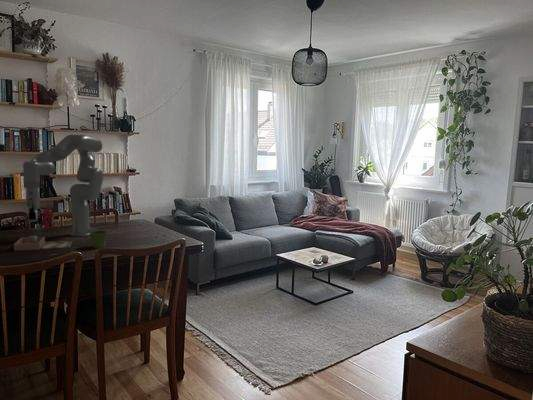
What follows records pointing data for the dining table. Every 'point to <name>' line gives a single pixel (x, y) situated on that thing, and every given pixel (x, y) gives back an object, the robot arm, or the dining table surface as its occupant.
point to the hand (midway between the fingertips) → (33, 218)
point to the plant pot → (98, 238)
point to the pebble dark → (32, 239)
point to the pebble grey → (36, 217)
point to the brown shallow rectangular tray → (29, 244)
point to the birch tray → (56, 245)
